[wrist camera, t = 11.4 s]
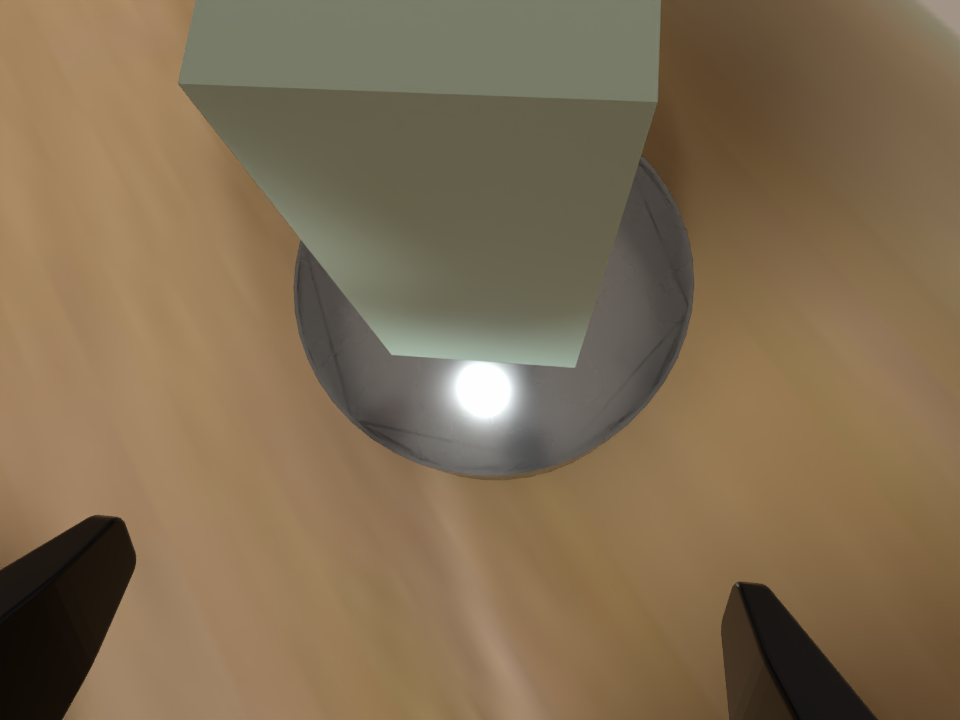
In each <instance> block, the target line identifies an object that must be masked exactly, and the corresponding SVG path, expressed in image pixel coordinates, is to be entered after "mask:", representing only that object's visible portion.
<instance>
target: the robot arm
mask: <svg viewBox="0 0 960 720" xmlns="http://www.w3.org/2000/svg"><path fill="white" fill-rule="evenodd" d="M135 565H136V553H135V550H134V547H133V544H132V542H131V539H130V536H129V533H128V530H127V527H126V524H125V522H124V521H123V520H122V519H121V518H119V517H113V516H104V515H94V516H91V517H89V518H87V519H85V520H83V521H82V522H80V523H78V524H77V525H75V526H73V527H72V528H70V529H68V530H67V531H65V532H63V533H62V534H60V535H58V536H57V537H55V538H53V539H52V540H50V541H48V542H47V543H45V544H43V545H41V546H40V547H38V548H36V549H35V550H33V551H31V552H30V553H28V554H26V555H25V556H23V557H21V558H20V559H18V560H16V561H15V562H13V563H11V564H10V565H8V566H6V567H5V568H3V569H1V570H0V720H62V719H63V717H64V715H65V714H66V712H67V710H68V708H69V707H70V705H71V703H72V701H73V699H74V698H75V696H76V694H77V692H78V690H79V689H80V687H81V685H82V683H83V682H84V680H85V678H86V676H87V674H88V672H89V670H90V668H91V667H92V665H93V662H94V660H95V658H96V656H97V654H98V652H99V650H100V648H101V645H102V643H103V641H104V638H105V636H106V634H107V632H108V629H109V627H110V625H111V622H112V620H113V618H114V615H115V613H116V611H117V609H118V606H119V604H120V602H121V599H122V597H123V595H124V593H125V590H126V588H127V586H128V583H129V581H130V579H131V577H132V574H133V572H134V569H135ZM721 636H722V647H723V657H724V668H725V678H726V688H727V699H728V709H729V719H730V720H878V719H877V718H876V717H875V715H874V714H873V713H872V712H871V711H870V709H869V708H868V707H867V706H866V705H865V703H864V702H863V701H862V700H861V699H860V697H859V696H858V695H857V694H856V692H855V691H854V690H853V689H852V688H851V686H850V685H849V684H848V683H847V682H846V680H845V679H844V678H843V677H842V676H841V674H840V673H839V672H838V671H837V669H836V668H835V667H834V666H833V665H832V663H831V662H830V661H829V660H828V659H827V657H826V656H825V655H824V654H823V653H822V651H821V650H820V649H819V648H818V646H817V645H816V644H815V643H814V642H813V640H812V639H811V638H810V637H809V636H808V634H807V633H806V632H805V631H804V630H803V628H802V627H801V626H800V625H799V623H798V622H797V621H796V620H795V619H794V617H793V616H792V615H791V614H790V613H789V611H788V610H787V609H786V608H785V607H784V605H783V604H782V603H781V602H780V600H779V599H778V598H777V597H776V596H775V594H774V593H773V592H772V591H771V590H770V589H769V588H768V587H767V586H766V585H764V584H759V583H749V582H737V583H735V584H734V585H733V587H732V590H731V593H730V596H729V599H728V603H727V606H726V609H725V612H724V615H723V619H722V626H721Z"/></svg>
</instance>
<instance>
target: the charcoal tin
mask: <svg viewBox="0 0 960 720" xmlns="http://www.w3.org/2000/svg"><path fill="white" fill-rule="evenodd" d="M693 291H694V274H693V258H692V253H691V248H690V243H689V238H688V234H687V231H686V228H685V225H684V222H683V219H682V217H681V214H680V211H679V209H678V207H677V205H676V203H675V201H674V199H673V197H672V195H671V193H670V191H669V189H668V188H667V186H666V185H665V184H664V182H663V181H662V179H661V178H660V176H659V175H658V174H657V172H656V171H655V169H654V168H653V167H652V166H651V165H650V164H649V163H648V161H647V160H646V159H645V158H644V157H643V156H642V155H641V158H640V161H639V164H638V167H637V170H636V174H635V177H634V180H633V183H632V186H631V190H630V193H629V196H628V199H627V203H626V206H625V209H624V212H623V215H622V219H621V222H620V225H619V228H618V231H617V235H616V238H615V241H614V244H613V248H612V251H611V254H610V257H609V260H608V264H607V267H606V270H605V273H604V276H603V280H602V283H601V286H600V289H599V293H598V296H597V299H596V302H595V305H594V309H593V312H592V315H591V318H590V321H589V325H588V328H587V331H586V334H585V337H584V341H583V344H582V347H581V350H580V354H579V357H578V360H577V363H576V366H575V368H570V367H556V366H542V365H528V364H514V363H499V362H485V361H471V360H457V359H442V358H428V357H414V356H400V355H391V353H390V352H389V351H388V350H387V348H386V347H385V346H384V344H383V343H382V342H381V341H380V339H379V338H378V337H377V336H376V334H375V333H374V332H373V330H372V329H371V328H370V327H369V325H368V324H367V323H366V322H365V320H364V319H363V318H362V317H361V315H360V314H359V313H358V311H357V310H356V309H355V308H354V306H353V305H352V304H351V303H350V301H349V300H348V299H347V297H346V296H345V295H344V294H343V292H342V291H341V290H340V289H339V287H338V286H337V285H336V284H335V282H334V281H333V280H332V278H331V277H330V276H329V275H328V273H327V272H326V271H325V270H324V268H323V267H322V266H321V264H320V263H319V262H318V261H317V259H316V258H315V257H314V256H313V254H312V253H311V252H310V251H309V249H308V248H307V247H306V245H305V244H304V243H303V242H302V240H301V241H300V245H299V250H298V255H297V259H296V265H295V277H294V302H295V314H296V319H297V324H298V330H299V335H300V338H301V341H302V344H303V347H304V350H305V353H306V356H307V359H308V361H309V363H310V365H311V367H312V369H313V371H314V373H315V375H316V377H317V379H318V381H319V382H320V384H321V385H322V387H323V388H324V390H325V391H326V392H327V394H328V395H329V397H330V398H331V400H332V401H333V403H334V404H335V405H336V406H337V407H338V408H339V409H340V410H341V411H342V412H343V413H344V415H345V416H346V417H347V418H348V419H349V420H350V421H351V422H352V423H353V424H355V425H356V426H357V427H358V428H359V429H361V430H362V431H363V432H364V433H366V434H367V435H368V436H369V437H370V438H372V439H373V440H375V441H376V442H378V443H380V444H381V445H383V446H385V447H386V448H388V449H390V450H391V451H393V452H394V453H396V454H398V455H401V456H403V457H405V458H407V459H410V460H412V461H414V462H417V463H419V464H421V465H424V466H427V467H431V468H434V469H437V470H440V471H443V472H447V473H450V474H454V475H457V476H461V477H468V478H475V479H481V480H510V479H518V478H526V477H531V476H535V475H539V474H543V473H547V472H551V471H553V470H556V469H558V468H561V467H563V466H565V465H568V464H570V463H573V462H574V461H576V460H578V459H580V458H581V457H583V456H585V455H587V454H588V453H590V452H592V451H593V450H594V449H596V448H597V447H598V446H600V445H601V444H603V443H605V442H606V441H607V440H609V439H610V438H611V437H613V436H614V435H615V434H616V433H618V432H619V431H620V430H622V429H623V428H624V427H626V426H627V425H628V424H629V423H630V422H631V421H632V420H633V418H634V417H635V416H636V415H637V414H638V413H639V412H640V411H641V410H642V409H643V408H644V407H645V406H646V405H647V404H648V403H649V402H650V400H651V399H652V398H653V396H654V395H655V394H656V392H657V391H658V390H659V388H660V387H661V386H662V384H663V383H664V381H665V380H666V378H667V376H668V374H669V372H670V371H671V369H672V367H673V365H674V363H675V362H676V360H677V357H678V355H679V352H680V350H681V347H682V344H683V342H684V339H685V337H686V333H687V329H688V325H689V320H690V316H691V311H692V303H693Z"/></svg>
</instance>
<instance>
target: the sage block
mask: <svg viewBox="0 0 960 720" xmlns="http://www.w3.org/2000/svg"><path fill="white" fill-rule="evenodd" d="M660 18H661V0H196V1H195V6H194V11H193V15H192V20H191V25H190V30H189V34H188V39H187V44H186V49H185V53H184V58H183V63H182V68H181V72H180V77H179V82H178V84H179V86H180V87H181V88H182V89H183V91H184V92H185V93H186V94H187V96H188V97H189V98H190V100H191V101H192V102H193V103H194V105H195V106H196V107H197V108H198V110H199V111H200V112H201V113H202V115H203V116H204V117H205V119H206V120H207V121H208V122H209V124H210V125H211V126H212V127H213V129H214V130H215V131H216V133H217V134H218V135H219V136H220V138H221V139H222V140H223V141H224V143H225V144H226V145H227V146H228V148H229V149H230V150H231V152H232V153H233V154H234V155H235V157H236V158H237V159H238V160H239V162H240V163H241V164H242V165H243V167H244V168H245V169H246V171H247V172H248V173H249V174H250V176H251V177H252V178H253V179H254V181H255V182H256V183H257V185H258V186H259V187H260V188H261V190H262V191H263V192H264V193H265V195H266V196H267V197H268V198H269V200H270V201H271V202H272V204H273V205H274V206H275V207H276V209H277V210H278V211H279V212H280V214H281V215H282V216H283V218H284V219H285V220H286V221H287V223H288V224H289V225H290V226H291V228H292V229H293V230H294V231H295V233H296V234H297V235H298V237H299V238H300V239H301V240H302V242H303V243H304V244H305V245H306V247H307V248H308V249H309V251H310V252H311V253H312V254H313V256H314V257H315V258H316V259H317V261H318V262H319V263H320V264H321V266H322V267H323V268H324V270H325V271H326V272H327V273H328V275H329V276H330V277H331V278H332V280H333V281H334V282H335V284H336V285H337V286H338V287H339V289H340V290H341V291H342V292H343V294H344V295H345V296H346V297H347V299H348V300H349V301H350V303H351V304H352V305H353V306H354V308H355V309H356V310H357V311H358V313H359V314H360V315H361V317H362V318H363V319H364V320H365V322H366V323H367V324H368V325H369V327H370V328H371V329H372V330H373V332H374V333H375V334H376V336H377V337H378V338H379V339H380V341H381V342H382V343H383V344H384V346H385V347H386V348H387V350H388V351H389V352H390V353H391V355H400V356H414V357H428V358H442V359H457V360H471V361H485V362H499V363H514V364H528V365H542V366H556V367H570V368H575V366H576V363H577V360H578V357H579V354H580V350H581V347H582V344H583V341H584V337H585V334H586V331H587V328H588V325H589V321H590V318H591V315H592V312H593V309H594V305H595V302H596V299H597V296H598V293H599V289H600V286H601V283H602V280H603V276H604V273H605V270H606V267H607V264H608V260H609V257H610V254H611V251H612V248H613V244H614V241H615V238H616V235H617V231H618V228H619V225H620V222H621V219H622V215H623V212H624V209H625V206H626V203H627V199H628V196H629V193H630V190H631V186H632V183H633V180H634V177H635V174H636V170H637V167H638V164H639V161H640V158H641V154H642V151H643V148H644V145H645V142H646V138H647V135H648V132H649V129H650V125H651V122H652V119H653V116H654V113H655V109H656V106H657V103H658V80H659V49H660Z"/></svg>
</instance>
